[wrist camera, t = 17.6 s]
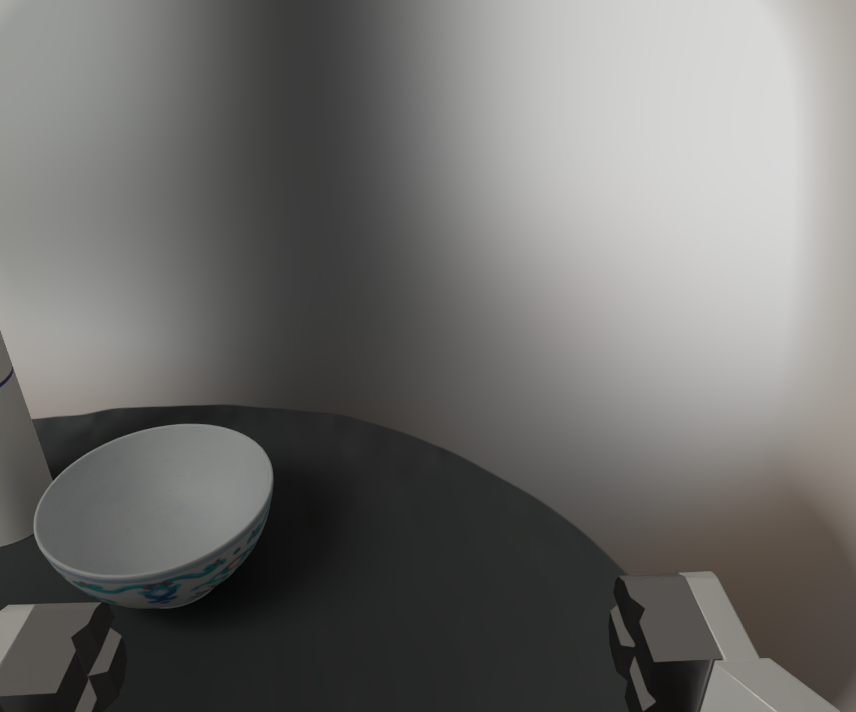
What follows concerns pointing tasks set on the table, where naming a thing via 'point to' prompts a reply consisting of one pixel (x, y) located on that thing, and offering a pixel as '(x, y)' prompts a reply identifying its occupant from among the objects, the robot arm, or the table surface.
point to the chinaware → (156, 514)
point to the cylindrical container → (18, 459)
